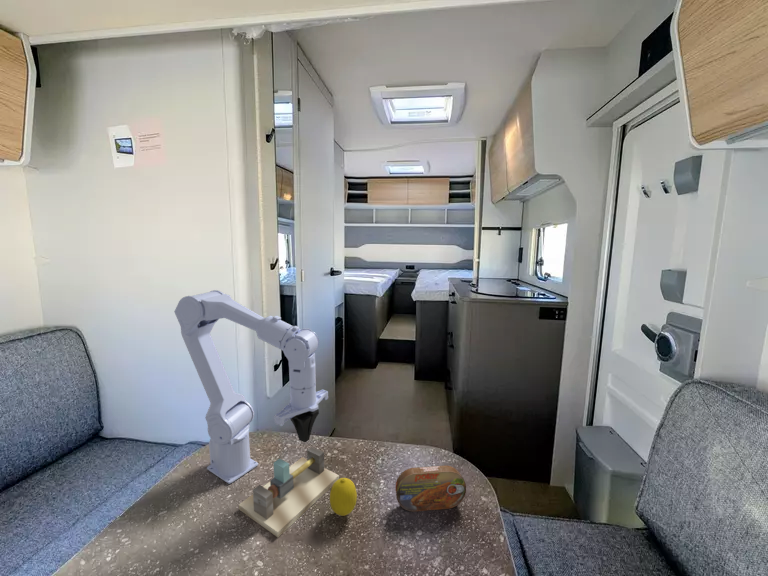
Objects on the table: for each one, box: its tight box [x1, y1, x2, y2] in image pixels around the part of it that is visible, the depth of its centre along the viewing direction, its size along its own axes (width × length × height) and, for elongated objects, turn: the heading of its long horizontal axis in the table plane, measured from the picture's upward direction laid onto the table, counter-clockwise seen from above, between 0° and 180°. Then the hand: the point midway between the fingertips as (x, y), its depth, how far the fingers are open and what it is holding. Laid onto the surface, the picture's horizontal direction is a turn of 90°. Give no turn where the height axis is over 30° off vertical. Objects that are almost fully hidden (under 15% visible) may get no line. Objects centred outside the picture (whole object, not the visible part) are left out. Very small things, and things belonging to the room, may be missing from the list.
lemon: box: [329, 477, 358, 517], centre depth 67 cm, size 6×6×8 cm
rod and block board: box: [238, 446, 340, 538], centre depth 72 cm, size 18×12×6 cm, turn 148°
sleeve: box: [269, 458, 294, 499], centre depth 70 cm, size 4×3×6 cm
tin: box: [395, 465, 467, 513], centre depth 70 cm, size 15×3×8 cm, turn 96°
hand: (304, 439), depth 76 cm, fingers closed
